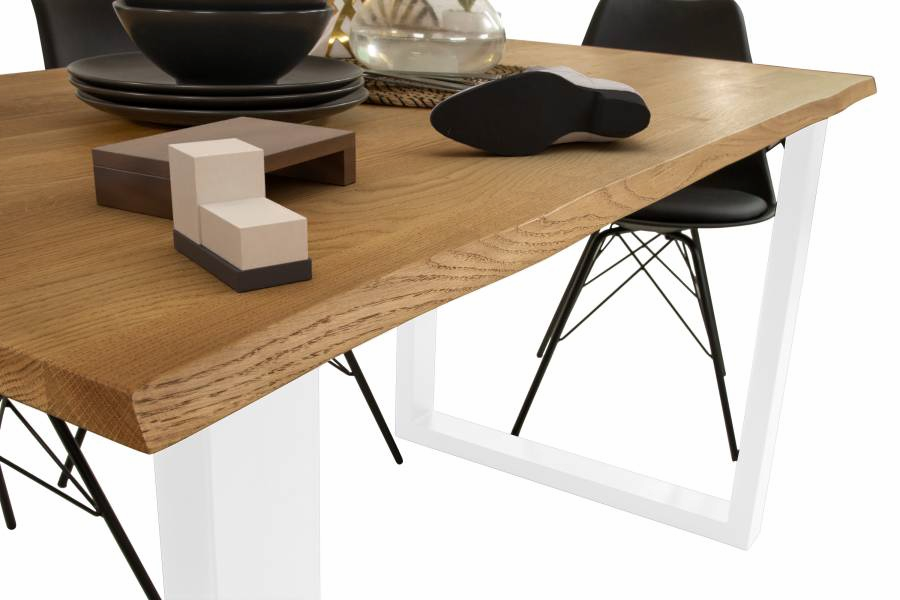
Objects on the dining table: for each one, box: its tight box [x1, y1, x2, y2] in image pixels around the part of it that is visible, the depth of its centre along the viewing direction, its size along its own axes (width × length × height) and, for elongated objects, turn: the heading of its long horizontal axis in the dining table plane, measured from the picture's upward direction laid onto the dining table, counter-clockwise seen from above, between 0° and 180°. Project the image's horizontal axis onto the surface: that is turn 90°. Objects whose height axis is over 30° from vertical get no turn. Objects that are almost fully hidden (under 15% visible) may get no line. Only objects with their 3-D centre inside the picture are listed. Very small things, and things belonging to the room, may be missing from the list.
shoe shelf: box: [91, 116, 357, 220], centre depth 93 cm, size 14×20×5 cm
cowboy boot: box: [429, 65, 652, 157], centre depth 123 cm, size 10×28×25 cm
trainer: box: [168, 138, 313, 293], centre depth 73 cm, size 12×6×8 cm, turn 35°
